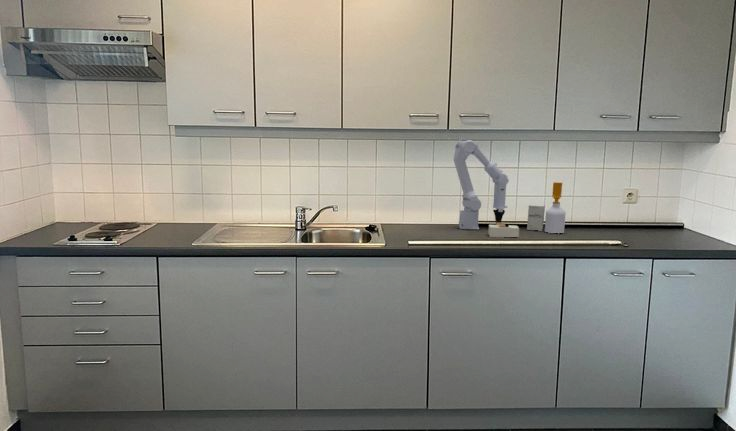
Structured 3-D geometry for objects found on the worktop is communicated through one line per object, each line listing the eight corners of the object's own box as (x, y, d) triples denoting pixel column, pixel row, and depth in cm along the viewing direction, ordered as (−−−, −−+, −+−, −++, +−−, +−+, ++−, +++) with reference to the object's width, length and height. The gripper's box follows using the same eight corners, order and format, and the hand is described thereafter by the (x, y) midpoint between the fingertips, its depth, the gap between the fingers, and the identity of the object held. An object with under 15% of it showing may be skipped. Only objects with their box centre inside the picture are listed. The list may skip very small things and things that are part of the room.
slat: (498, 234, 262) (498, 226, 261) (495, 229, 273) (496, 222, 273) (505, 234, 261) (506, 226, 260) (502, 230, 273) (503, 222, 272)
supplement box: (526, 230, 273) (528, 205, 271) (528, 227, 279) (529, 203, 277) (542, 231, 270) (543, 206, 268) (543, 229, 277) (545, 204, 275)
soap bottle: (544, 233, 265) (547, 182, 261) (544, 230, 273) (548, 180, 270) (564, 234, 262) (568, 183, 258) (563, 231, 271) (567, 181, 267)
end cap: (489, 236, 254) (490, 227, 253) (488, 233, 261) (488, 224, 261) (518, 238, 253) (519, 228, 252) (516, 235, 260) (516, 225, 259)
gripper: (509, 199, 269) (508, 226, 271) (505, 195, 283) (504, 221, 285) (494, 199, 269) (493, 226, 272) (491, 195, 284) (490, 221, 286)
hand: (498, 223), depth 278 cm, fingers closed
